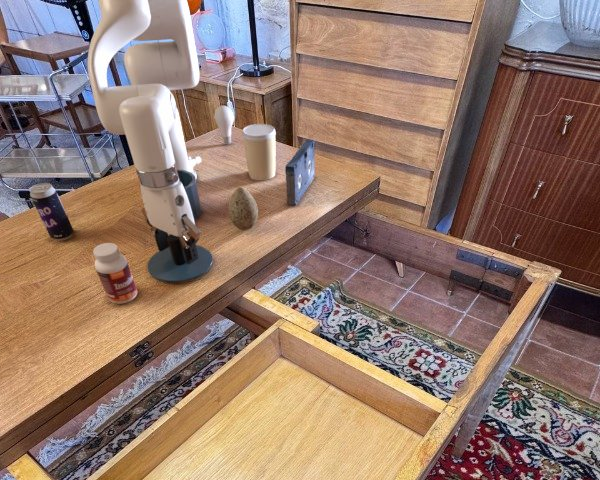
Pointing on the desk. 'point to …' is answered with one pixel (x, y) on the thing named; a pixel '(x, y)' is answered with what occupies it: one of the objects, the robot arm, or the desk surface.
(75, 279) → the desk surface
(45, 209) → the beverage can
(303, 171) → the vhs cassette tape
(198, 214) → the tin
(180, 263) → the tin lid
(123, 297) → the pill bottle
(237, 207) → the decorative egg
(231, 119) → the lightbulb
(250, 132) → the coffee cup
